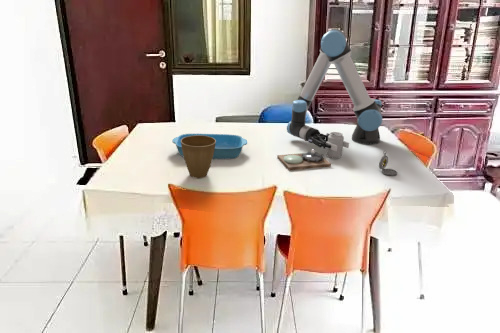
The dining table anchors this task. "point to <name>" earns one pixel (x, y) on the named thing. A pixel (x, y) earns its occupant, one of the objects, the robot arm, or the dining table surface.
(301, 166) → the gear board
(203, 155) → the plant pot
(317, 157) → the gear
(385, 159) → the pocket watch
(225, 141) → the casserole dish
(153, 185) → the dining table surface
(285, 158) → the output pad
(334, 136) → the can
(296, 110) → the robot arm
